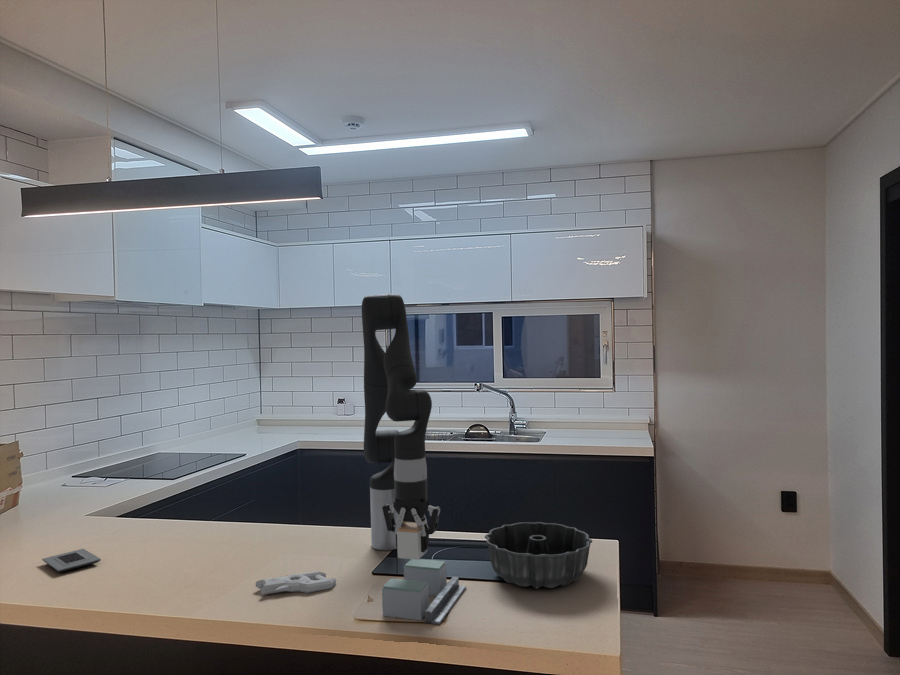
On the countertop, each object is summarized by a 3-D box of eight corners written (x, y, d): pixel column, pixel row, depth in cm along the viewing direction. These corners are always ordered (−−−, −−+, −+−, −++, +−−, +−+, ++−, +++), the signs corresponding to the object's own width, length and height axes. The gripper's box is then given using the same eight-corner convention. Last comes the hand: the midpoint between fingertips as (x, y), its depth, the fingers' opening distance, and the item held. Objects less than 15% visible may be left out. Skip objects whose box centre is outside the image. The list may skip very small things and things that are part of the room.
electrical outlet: (42, 566, 185) (41, 557, 185) (83, 555, 193) (83, 547, 193) (58, 578, 176) (58, 569, 176) (101, 566, 184) (100, 557, 184)
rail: (453, 586, 163) (452, 576, 163) (465, 588, 162) (465, 577, 162) (425, 623, 144) (424, 611, 144) (439, 624, 143) (439, 613, 143)
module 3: (391, 606, 153) (390, 577, 152) (428, 610, 150) (428, 581, 150) (382, 615, 148) (381, 586, 148) (421, 620, 145) (420, 590, 145)
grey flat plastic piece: (264, 589, 156) (254, 575, 165) (264, 604, 156) (254, 589, 164) (339, 577, 164) (326, 565, 173) (339, 591, 164) (326, 578, 173)
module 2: (411, 584, 165) (411, 558, 165) (446, 587, 162) (446, 561, 162) (404, 592, 160) (403, 565, 160) (440, 596, 157) (439, 568, 157)
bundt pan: (567, 553, 184) (567, 517, 184) (611, 590, 158) (610, 548, 158) (474, 563, 179) (473, 525, 178) (503, 603, 153) (502, 560, 153)
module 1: (407, 549, 158) (406, 521, 158) (427, 550, 157) (426, 523, 157) (397, 557, 153) (396, 529, 152) (418, 559, 151) (417, 530, 151)
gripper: (445, 474, 156) (447, 547, 156) (388, 471, 160) (390, 543, 161) (434, 482, 149) (436, 558, 149) (375, 479, 153) (377, 553, 153)
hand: (412, 550), depth 155 cm, fingers closed on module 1, 5 cm apart
